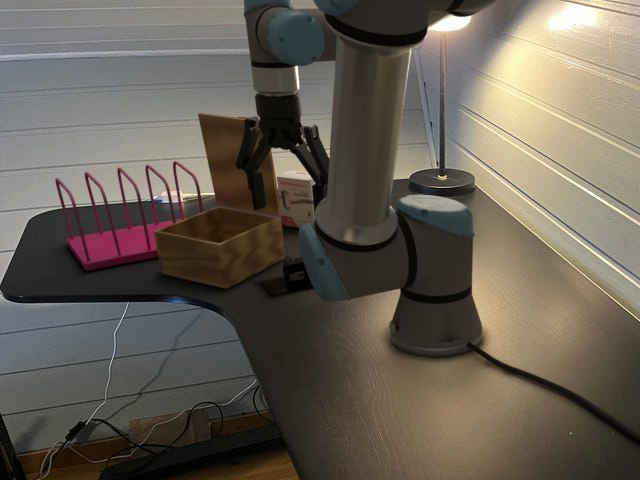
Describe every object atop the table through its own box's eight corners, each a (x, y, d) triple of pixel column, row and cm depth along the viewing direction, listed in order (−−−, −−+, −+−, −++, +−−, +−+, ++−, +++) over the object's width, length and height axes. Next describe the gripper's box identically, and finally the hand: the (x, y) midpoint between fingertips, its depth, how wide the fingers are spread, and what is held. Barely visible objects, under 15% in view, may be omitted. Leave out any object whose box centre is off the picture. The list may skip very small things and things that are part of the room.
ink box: (281, 226, 168) (275, 175, 162) (292, 219, 172) (286, 169, 166) (315, 231, 166) (310, 179, 160) (325, 224, 170) (321, 173, 164)
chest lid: (264, 122, 136) (285, 114, 141) (197, 113, 142) (220, 105, 147) (279, 216, 146) (299, 205, 151) (216, 204, 152) (237, 194, 157)
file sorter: (213, 247, 155) (201, 174, 148) (86, 272, 142) (65, 193, 134) (187, 225, 167) (175, 156, 160) (67, 246, 154) (47, 172, 146)
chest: (226, 288, 137) (219, 245, 132) (161, 273, 142) (153, 231, 138) (285, 258, 151) (280, 217, 147) (224, 245, 157) (218, 205, 152)
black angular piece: (321, 271, 146) (319, 249, 143) (335, 284, 140) (334, 261, 138) (259, 283, 139) (257, 260, 137) (272, 296, 134) (269, 273, 132)
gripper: (352, 96, 122) (359, 218, 132) (233, 82, 130) (249, 198, 141) (326, 103, 116) (336, 230, 126) (203, 88, 124) (222, 209, 135)
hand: (290, 214), depth 133 cm, fingers open, 13 cm apart
